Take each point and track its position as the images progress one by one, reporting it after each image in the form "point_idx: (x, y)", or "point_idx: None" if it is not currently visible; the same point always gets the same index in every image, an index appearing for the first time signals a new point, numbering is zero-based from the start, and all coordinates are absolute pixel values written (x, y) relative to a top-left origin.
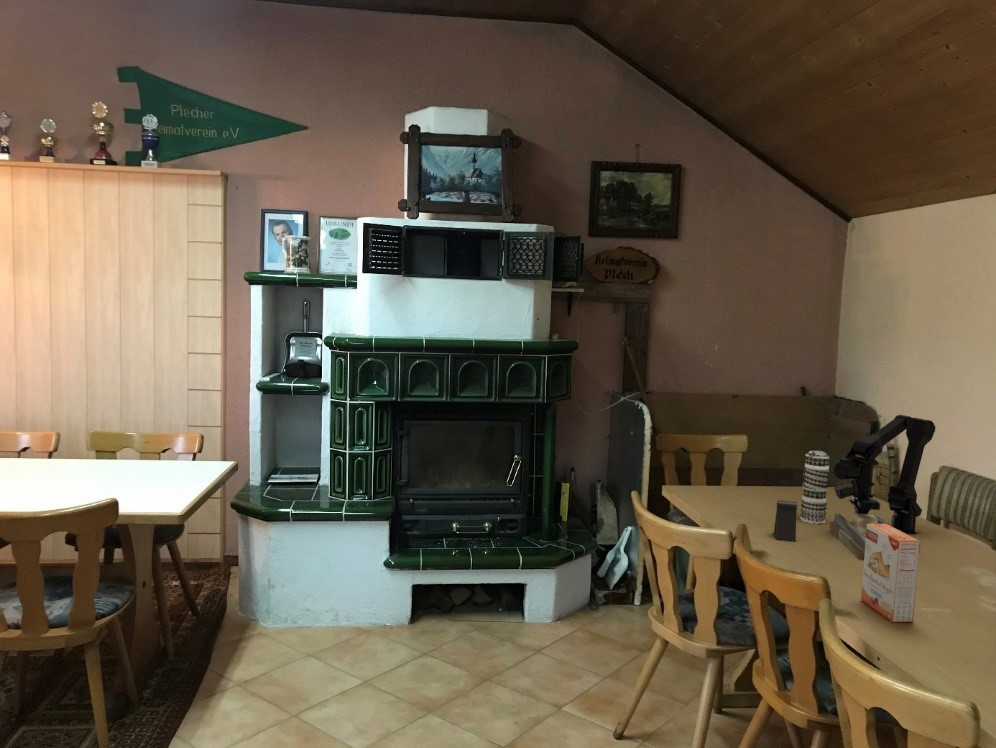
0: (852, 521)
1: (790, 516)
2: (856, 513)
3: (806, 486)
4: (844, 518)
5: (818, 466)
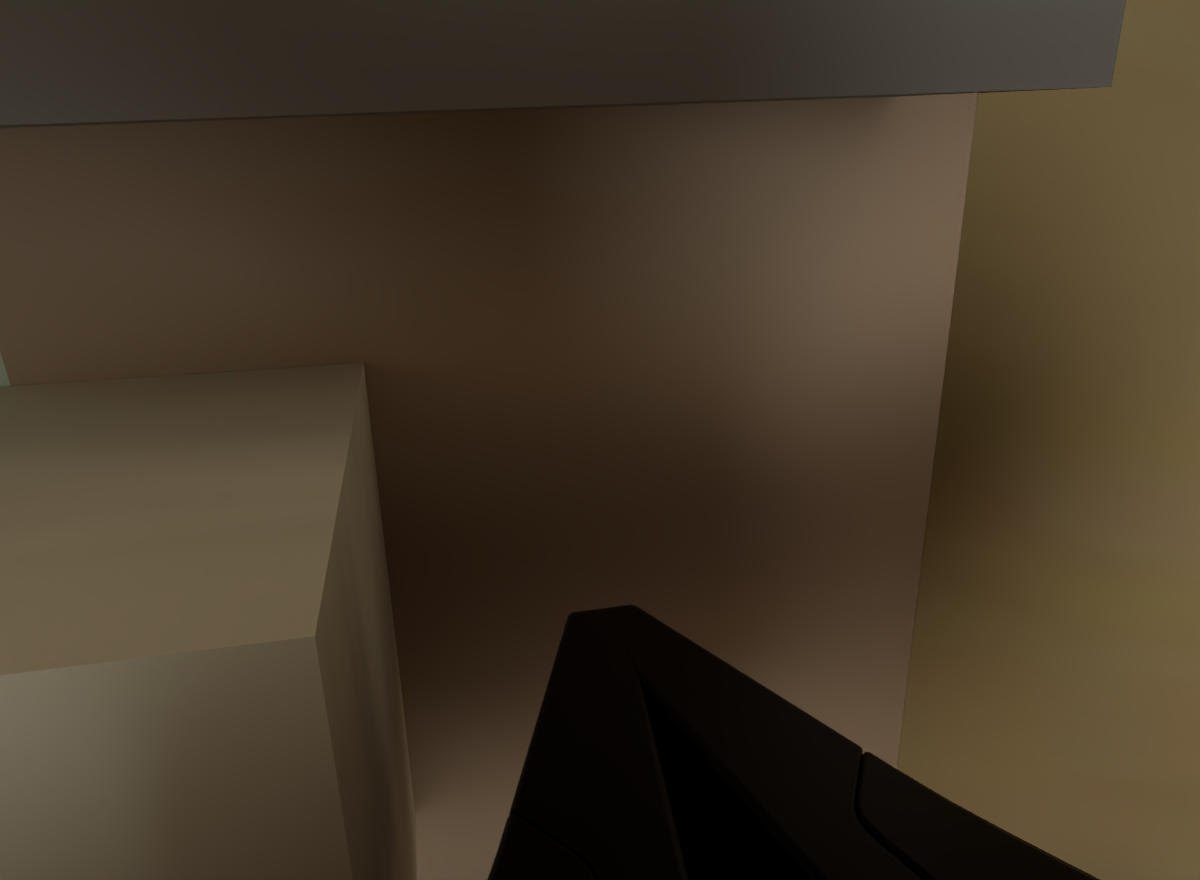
0: (277, 445)
1: None
2: (285, 825)
3: None
4: (251, 91)
5: None
